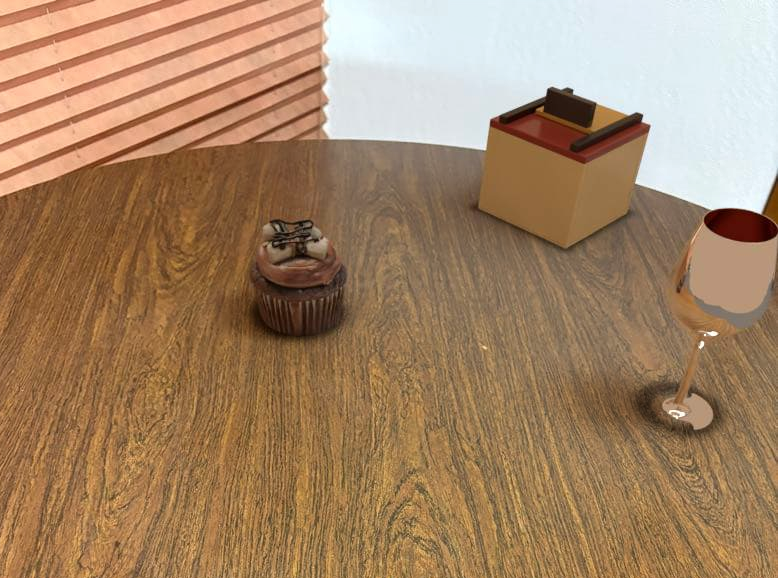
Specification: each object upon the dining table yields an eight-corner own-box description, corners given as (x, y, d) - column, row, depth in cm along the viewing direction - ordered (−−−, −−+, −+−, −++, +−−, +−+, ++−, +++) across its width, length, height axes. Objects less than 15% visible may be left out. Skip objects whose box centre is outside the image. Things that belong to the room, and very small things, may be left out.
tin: (540, 179, 111) (558, 83, 102) (626, 216, 105) (653, 117, 97) (477, 211, 104) (491, 111, 96) (564, 251, 98) (587, 149, 90)
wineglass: (619, 420, 78) (673, 233, 65) (646, 374, 83) (701, 191, 70) (709, 450, 75) (784, 262, 62) (731, 400, 80) (805, 216, 67)
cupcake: (360, 335, 85) (364, 241, 78) (266, 351, 83) (260, 255, 75) (330, 285, 91) (331, 193, 84) (241, 299, 89) (234, 206, 81)
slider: (570, 98, 101) (575, 71, 99) (627, 119, 98) (634, 91, 96) (534, 113, 98) (539, 85, 96) (593, 136, 94) (599, 107, 92)
